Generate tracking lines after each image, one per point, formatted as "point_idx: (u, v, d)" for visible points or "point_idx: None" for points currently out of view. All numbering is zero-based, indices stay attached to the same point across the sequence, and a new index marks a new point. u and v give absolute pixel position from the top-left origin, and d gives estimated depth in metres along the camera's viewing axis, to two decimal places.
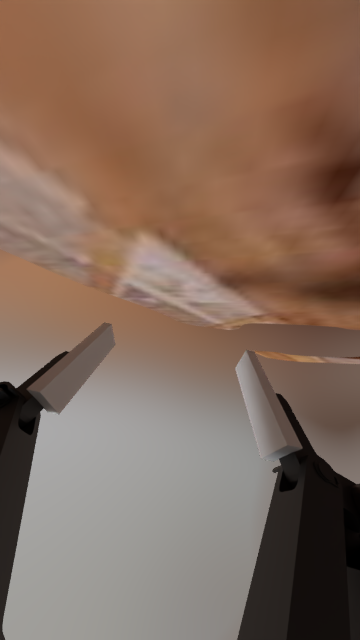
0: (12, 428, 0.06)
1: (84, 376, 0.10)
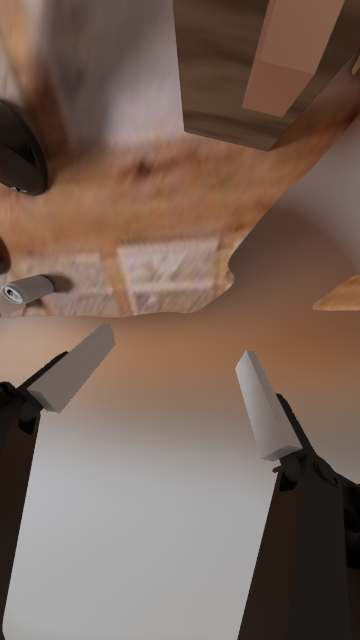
0: (12, 428, 0.06)
1: (84, 376, 0.10)
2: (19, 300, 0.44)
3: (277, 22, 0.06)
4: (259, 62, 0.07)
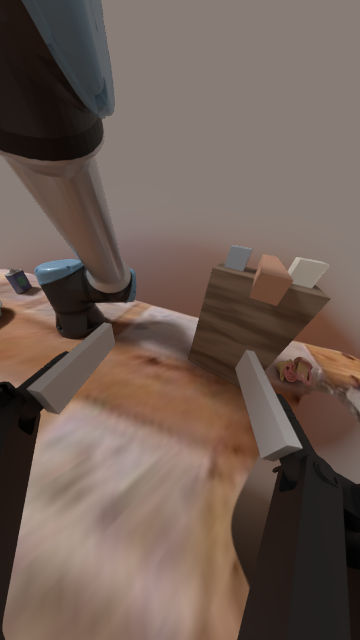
0: (12, 428, 0.06)
1: (84, 376, 0.10)
2: None
3: None
4: (261, 274, 0.14)
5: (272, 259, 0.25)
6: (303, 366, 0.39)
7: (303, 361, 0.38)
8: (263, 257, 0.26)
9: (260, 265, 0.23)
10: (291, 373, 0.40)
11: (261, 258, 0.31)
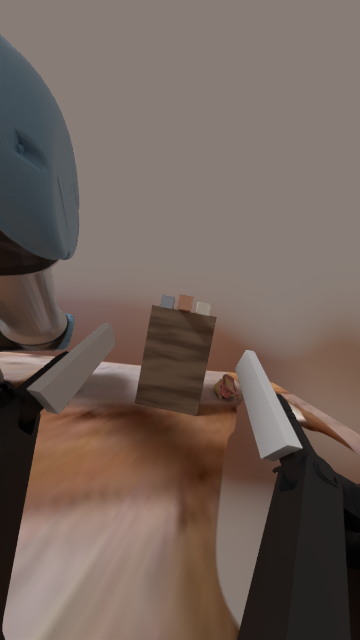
0: (12, 428, 0.06)
1: (84, 376, 0.10)
2: None
3: None
4: (179, 295, 0.27)
5: None
6: (228, 380, 0.51)
7: (227, 376, 0.51)
8: None
9: None
10: (224, 389, 0.50)
11: None
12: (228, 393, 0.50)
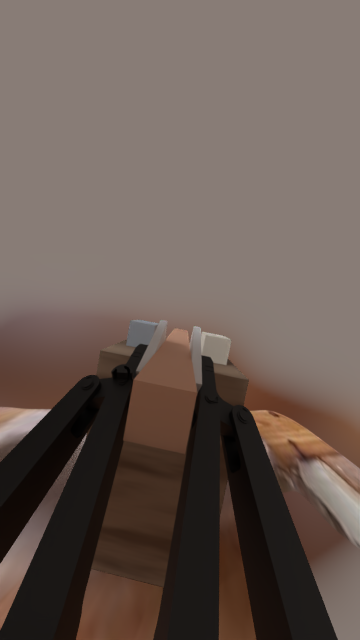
0: (125, 408, 0.07)
1: None
2: None
3: (147, 371, 0.07)
4: (134, 383, 0.06)
5: (180, 335, 0.22)
6: None
7: None
8: (171, 332, 0.22)
9: None
10: None
11: None
12: None
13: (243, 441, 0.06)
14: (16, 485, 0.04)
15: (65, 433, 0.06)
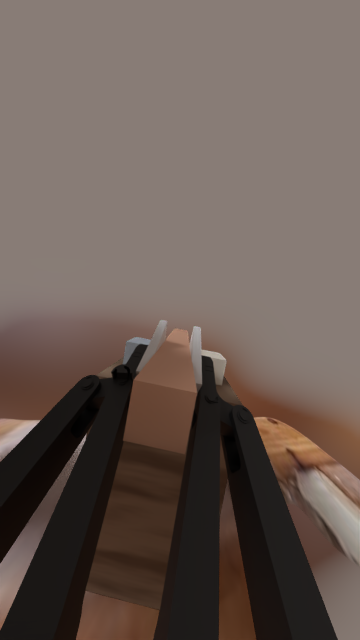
0: (125, 408, 0.07)
1: None
2: None
3: (146, 372, 0.07)
4: (134, 383, 0.06)
5: (180, 335, 0.22)
6: None
7: None
8: (171, 333, 0.22)
9: None
10: None
11: None
12: None
13: (243, 441, 0.06)
14: (16, 485, 0.04)
15: (65, 433, 0.06)
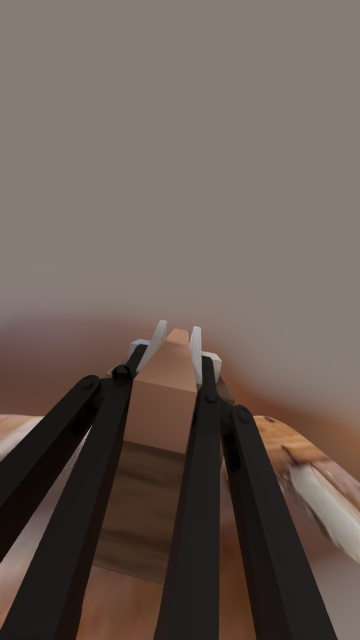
0: (125, 408, 0.07)
1: None
2: None
3: (147, 371, 0.07)
4: (134, 383, 0.06)
5: (180, 335, 0.22)
6: None
7: None
8: (171, 332, 0.22)
9: None
10: None
11: None
12: None
13: (243, 441, 0.06)
14: (16, 485, 0.04)
15: (65, 433, 0.06)
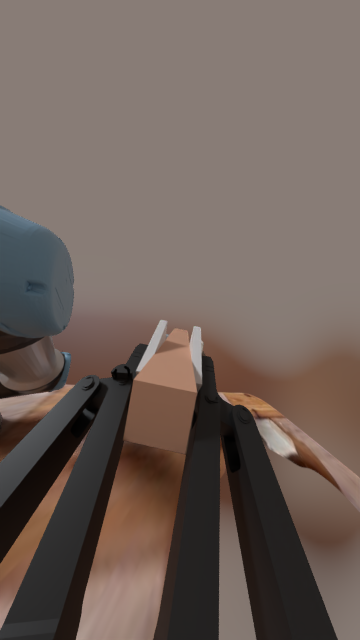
0: (125, 408, 0.07)
1: None
2: None
3: (147, 371, 0.07)
4: (134, 383, 0.06)
5: (180, 335, 0.22)
6: None
7: None
8: (171, 332, 0.22)
9: None
10: None
11: None
12: None
13: (243, 441, 0.06)
14: (16, 485, 0.04)
15: (65, 433, 0.06)
